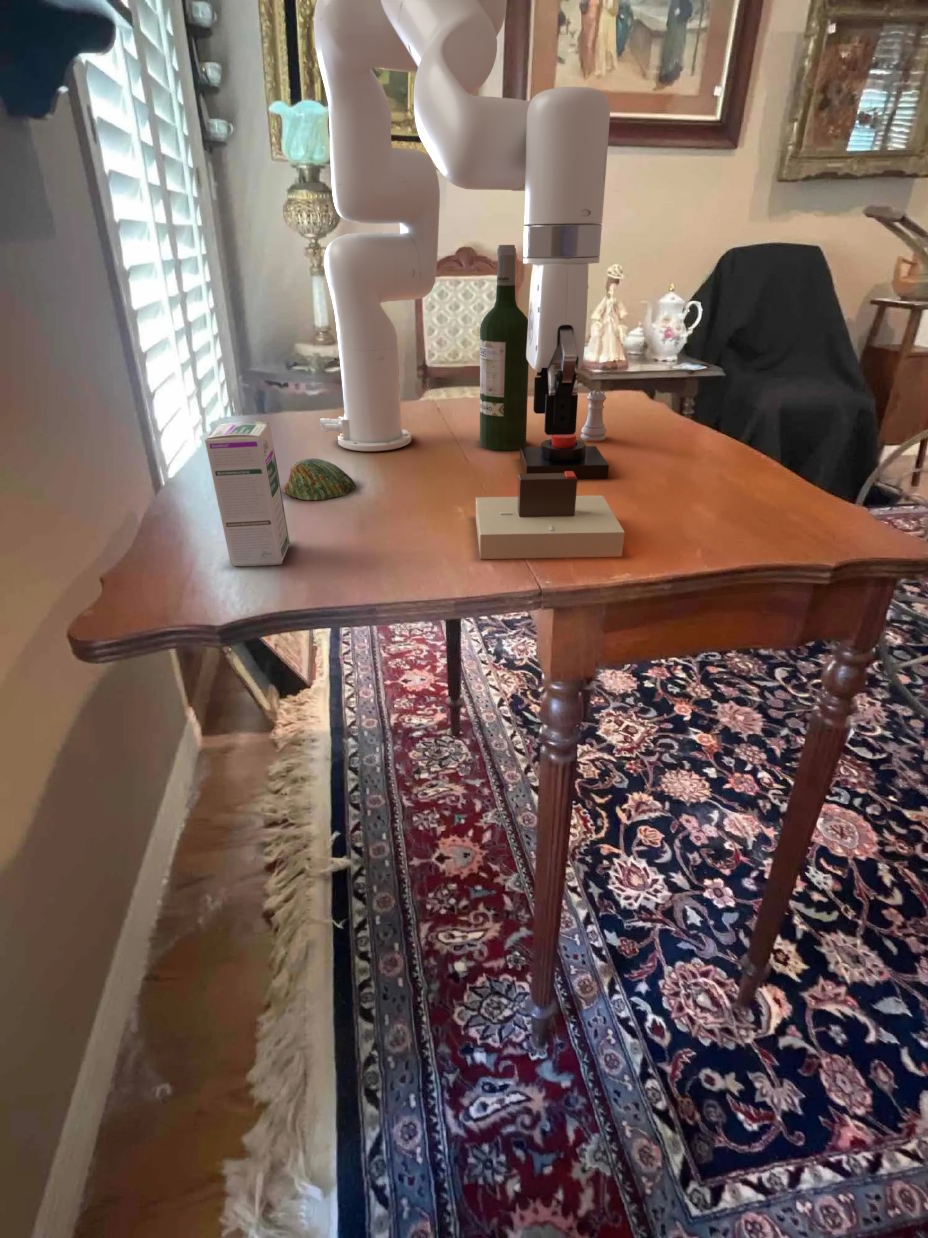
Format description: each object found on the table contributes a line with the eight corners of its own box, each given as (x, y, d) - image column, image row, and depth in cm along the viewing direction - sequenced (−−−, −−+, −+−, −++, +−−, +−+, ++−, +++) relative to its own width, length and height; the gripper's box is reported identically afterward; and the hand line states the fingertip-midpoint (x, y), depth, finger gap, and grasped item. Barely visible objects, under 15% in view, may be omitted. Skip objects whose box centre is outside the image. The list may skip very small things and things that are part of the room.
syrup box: (283, 565, 76) (263, 434, 69) (228, 567, 76) (203, 435, 69) (290, 544, 81) (272, 420, 74) (239, 546, 81) (216, 421, 74)
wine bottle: (470, 444, 118) (469, 245, 103) (503, 436, 122) (507, 243, 107) (502, 454, 113) (506, 245, 98) (535, 445, 117) (544, 244, 102)
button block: (526, 480, 101) (527, 453, 99) (519, 460, 110) (520, 435, 108) (607, 479, 101) (610, 452, 99) (594, 459, 110) (596, 434, 108)
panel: (480, 559, 77) (480, 533, 76) (475, 519, 88) (475, 495, 86) (621, 556, 78) (624, 530, 76) (600, 517, 88) (603, 493, 87)
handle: (519, 517, 80) (520, 477, 78) (517, 510, 82) (518, 471, 80) (574, 516, 80) (577, 476, 78) (571, 509, 82) (574, 470, 80)
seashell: (306, 474, 91) (266, 459, 97) (308, 504, 92) (269, 488, 99) (367, 464, 97) (326, 450, 103) (368, 492, 99) (327, 477, 105)
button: (553, 449, 102) (553, 438, 101) (549, 443, 105) (550, 431, 104) (577, 449, 102) (578, 437, 101) (573, 442, 105) (574, 431, 104)
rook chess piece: (607, 442, 118) (612, 394, 114) (581, 442, 118) (585, 394, 114) (603, 435, 122) (608, 389, 118) (578, 435, 122) (582, 389, 118)
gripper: (515, 246, 75) (512, 406, 84) (533, 248, 60) (527, 444, 68) (583, 244, 75) (573, 405, 84) (619, 247, 60) (602, 442, 69)
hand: (553, 422), depth 76 cm, fingers open, 9 cm apart
